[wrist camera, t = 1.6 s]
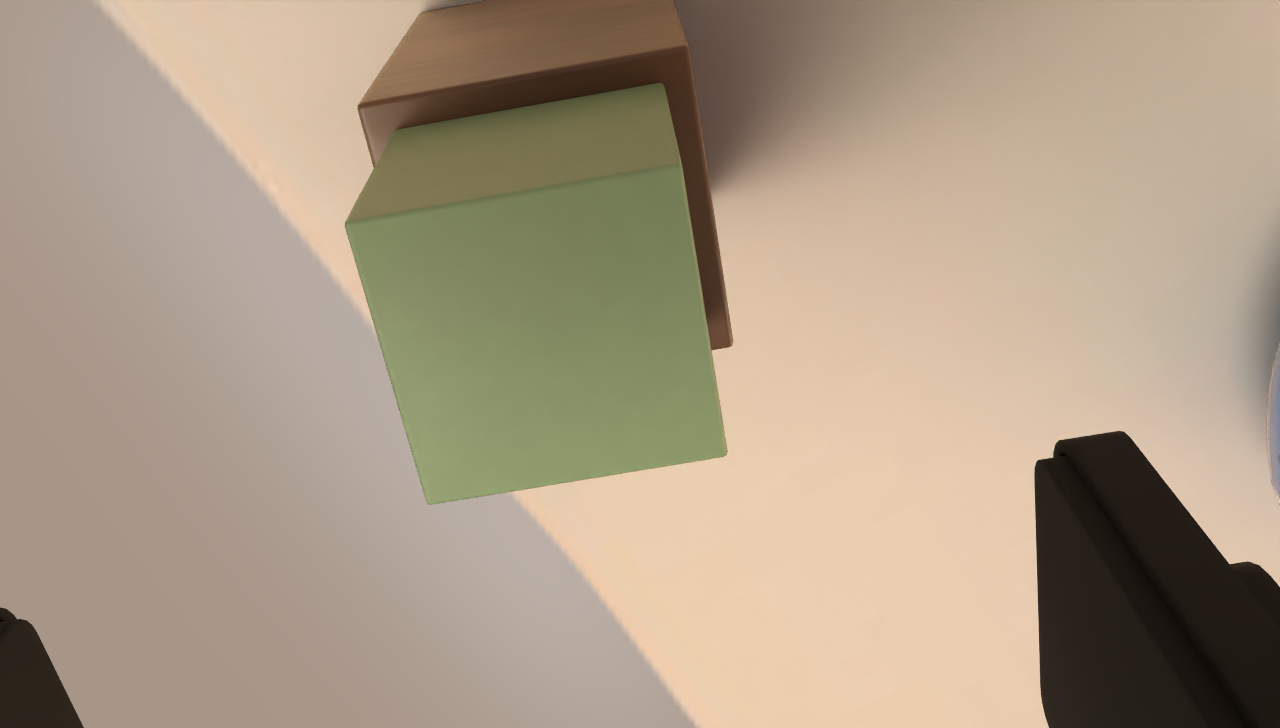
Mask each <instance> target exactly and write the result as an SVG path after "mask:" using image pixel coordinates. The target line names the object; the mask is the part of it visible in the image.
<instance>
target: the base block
mask: <svg viewBox="0 0 1280 728" xmlns="http://www.w3.org/2000/svg"><path fill="white" fill-rule="evenodd" d="M656 83H662V84H663V85H664V87H665V92H666V96H667V101H668V105H669V110H670V114H671V119H672V123H673V128H674V132H675V137H676V141H677V145H678V150H679V154H680V159H681V163H682V168H683V175H684V181H685V187H686V193H687V200H688V206H689V212H690V219H691V225H692V231H693V238H694V244H695V250H696V256H697V263H698V269H699V275H700V282H701V288H702V294H703V300H704V307H705V313H706V319H707V326H708V332H709V338H710V345H711V350H716V349H722V348H728V347H730V346H732V344H733V337H732V330H731V323H730V317H729V310H728V303H727V297H726V290H725V283H724V276H723V270H722V263H721V256H720V250H719V243H718V236H717V230H716V223H715V216H714V209H713V203H712V196H711V189H710V183H709V176H708V169H707V163H706V156H705V149H704V142H703V136H702V129H701V122H700V116H699V109H698V102H697V95H696V89H695V82H694V75H693V69H692V62H691V55H690V49H689V46H688V43H687V40H686V37H685V34H684V32H683V29H682V26H681V23H680V20H679V17H678V14H677V11H676V8H675V5H674V2H673V0H489V1H484V2H478V3H473V4H467V5H462V6H456V7H451V8H445V9H440V10H434V11H429V12H423V13H421V14H419V15H418V17H417V18H416V20H415V21H414V23H413V24H412V26H411V27H410V29H409V30H408V32H407V33H406V35H405V36H404V38H403V39H402V40H401V42H400V43H399V45H398V46H397V48H396V49H395V51H394V52H393V54H392V55H391V57H390V58H389V60H388V61H387V63H386V64H385V66H384V67H383V69H382V70H381V71H380V73H379V74H378V76H377V77H376V79H375V80H374V82H373V83H372V85H371V86H370V88H369V89H368V91H367V92H366V94H365V95H364V97H363V98H362V100H361V101H360V102H359V104H358V113H359V116H360V120H361V123H362V127H363V131H364V134H365V138H366V141H367V145H368V149H369V152H370V156H371V159H372V163H373V167H375V166H376V164H377V162H378V160H379V158H380V156H381V154H382V152H383V150H384V149H385V147H386V145H387V143H388V141H389V139H390V137H391V135H392V134H393V132H394V131H395V130H396V129H402V128H408V127H413V126H419V125H425V124H430V123H436V122H441V121H447V120H453V119H458V118H464V117H470V116H475V115H481V114H487V113H492V112H498V111H503V110H509V109H515V108H520V107H526V106H532V105H537V104H543V103H549V102H554V101H560V100H565V99H571V98H577V97H582V96H588V95H594V94H599V93H605V92H611V91H616V90H622V89H627V88H633V87H639V86H644V85H650V84H656Z"/></svg>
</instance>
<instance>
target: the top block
mask: <svg viewBox="0 0 1280 728" xmlns="http://www.w3.org/2000/svg"><path fill="white" fill-rule="evenodd" d="M345 228H346V232H347V235H348V238H349V242H350V245H351V249H352V252H353V255H354V259H355V262H356V265H357V269H358V272H359V276H360V279H361V282H362V286H363V289H364V292H365V296H366V299H367V303H368V306H369V309H370V313H371V316H372V320H373V323H374V326H375V330H376V333H377V336H378V340H379V343H380V347H381V350H382V353H383V356H384V360H385V363H386V367H387V370H388V374H389V377H390V380H391V384H392V387H393V390H394V394H395V397H396V400H397V404H398V407H399V411H400V414H401V418H402V421H403V424H404V428H405V431H406V434H407V438H408V441H409V445H410V448H411V451H412V455H413V458H414V462H415V465H416V468H417V472H418V475H419V478H420V482H421V485H422V489H423V492H424V495H425V499H426V501H427V503H428V504H430V505H432V504H438V503H444V502H450V501H457V500H463V499H469V498H475V497H481V496H487V495H493V494H499V493H506V492H512V491H518V490H524V489H530V488H536V487H542V486H548V485H554V484H560V483H567V482H573V481H579V480H585V479H591V478H597V477H603V476H609V475H615V474H622V473H628V472H634V471H640V470H646V469H652V468H658V467H664V466H670V465H677V464H683V463H689V462H695V461H701V460H707V459H713V458H719V457H724V456H726V455H727V445H726V439H725V433H724V426H723V420H722V414H721V408H720V401H719V395H718V389H717V382H716V376H715V370H714V363H713V357H712V351H711V345H710V338H709V332H708V326H707V319H706V313H705V307H704V300H703V294H702V288H701V282H700V275H699V269H698V263H697V256H696V250H695V244H694V238H693V231H692V225H691V219H690V212H689V206H688V200H687V193H686V187H685V181H684V175H683V168H682V163H681V159H680V154H679V150H678V145H677V141H676V137H675V132H674V128H673V123H672V119H671V114H670V110H669V105H668V101H667V96H666V92H665V87H664V85H663V84H662V83H656V84H650V85H644V86H639V87H633V88H627V89H622V90H616V91H611V92H605V93H599V94H594V95H588V96H582V97H577V98H571V99H565V100H560V101H554V102H549V103H543V104H537V105H532V106H526V107H520V108H515V109H509V110H503V111H498V112H492V113H487V114H481V115H475V116H470V117H464V118H458V119H453V120H447V121H441V122H436V123H430V124H425V125H419V126H413V127H408V128H402V129H396V130H395V131H394V132H393V134H392V135H391V137H390V139H389V141H388V143H387V145H386V147H385V149H384V150H383V152H382V154H381V156H380V158H379V160H378V162H377V164H376V166H375V167H374V169H373V171H372V173H371V175H370V177H369V179H368V181H367V182H366V184H365V186H364V188H363V190H362V192H361V194H360V196H359V197H358V199H357V201H356V203H355V205H354V207H353V209H352V211H351V212H350V214H349V216H348V218H347V220H346V222H345Z"/></svg>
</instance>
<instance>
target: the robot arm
mask: <svg viewBox="0 0 1280 728" xmlns="http://www.w3.org/2000/svg"><path fill="white" fill-rule="evenodd" d="M1035 511H1036V546H1037V581H1038V616H1039V651H1040V686H1041V697H1042V703H1043V708H1044V712H1045V716H1046V720H1047V723H1048V726H1049V728H1280V587H1279V586H1278V584H1277V583H1276V582H1275V581H1274V580H1273V578H1272V577H1271V576H1270V575H1269V574H1268V573H1267V572H1266V571H1265V570H1264V569H1262V568H1261V567H1260V566H1259V565H1257V564H1254V563H1251V562H1242V563H1235V564H1229V563H1228V562H1227V561H1226V559H1225V558H1224V557H1223V556H1222V554H1221V553H1220V552H1219V550H1218V549H1217V548H1216V547H1215V545H1214V544H1213V543H1212V542H1211V540H1210V539H1209V538H1208V536H1207V535H1206V534H1205V533H1204V531H1203V530H1202V529H1201V527H1200V526H1199V525H1198V524H1197V522H1196V521H1195V520H1194V518H1193V517H1192V516H1191V515H1190V513H1189V512H1188V511H1187V510H1186V508H1185V507H1184V506H1183V504H1182V503H1181V502H1180V501H1179V499H1178V498H1177V497H1176V495H1175V494H1174V493H1173V492H1172V490H1171V489H1170V488H1169V487H1168V485H1167V484H1166V483H1165V481H1164V480H1163V479H1162V478H1161V476H1160V475H1159V474H1158V472H1157V471H1156V470H1155V469H1154V467H1153V466H1152V465H1151V464H1150V462H1149V461H1148V460H1147V458H1146V457H1145V456H1144V455H1143V453H1142V452H1141V451H1140V449H1139V448H1138V447H1137V446H1136V444H1135V443H1134V442H1133V441H1132V439H1131V438H1130V437H1129V436H1128V435H1127V434H1126V433H1125V432H1122V431H1116V432H1110V433H1103V434H1097V435H1091V436H1084V437H1078V438H1071V439H1065V440H1059V441H1058V442H1057V443H1056V445H1055V448H1054V454H1053V458H1048V459H1042V460H1038V461H1037V462H1036V466H1035ZM0 728H84V727H83V725H82V723H81V721H80V719H79V717H78V715H77V713H76V711H75V709H74V707H73V705H72V703H71V701H70V699H69V697H68V695H67V693H66V691H65V689H64V687H63V685H62V683H61V681H60V679H59V676H58V675H57V672H56V671H55V668H54V666H53V664H52V662H51V660H50V658H49V656H48V654H47V652H46V650H45V648H44V646H43V644H42V642H41V640H40V638H39V636H38V634H37V632H36V630H35V629H34V627H33V626H32V624H30V623H29V622H28V621H26V620H22V619H18V620H17V619H16V617H15V616H14V615H13V614H12V613H11V612H10V611H8V610H7V609H5V608H0Z"/></svg>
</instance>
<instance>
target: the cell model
mask: <svg viewBox="0 0 1280 728" xmlns="http://www.w3.org/2000/svg"><path fill="white" fill-rule="evenodd" d="M1267 454H1268V461H1269V467H1270V474H1271V482H1272V486H1273V488H1274V491H1275V494H1276V497H1277V500H1278V502H1279V505H1280V343H1279V346H1278V348H1277V351H1276V355H1275V359H1274V362H1273V366H1272V370H1271V377H1270V384H1269V390H1268V401H1267Z"/></svg>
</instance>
